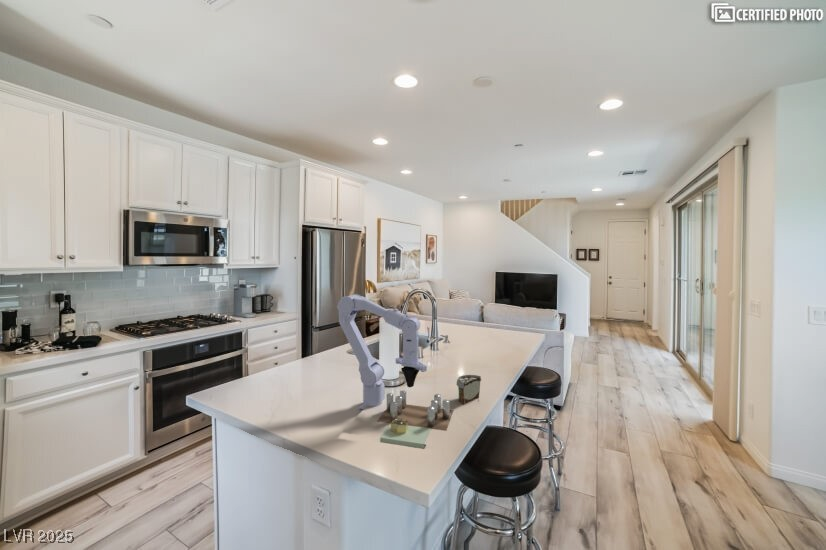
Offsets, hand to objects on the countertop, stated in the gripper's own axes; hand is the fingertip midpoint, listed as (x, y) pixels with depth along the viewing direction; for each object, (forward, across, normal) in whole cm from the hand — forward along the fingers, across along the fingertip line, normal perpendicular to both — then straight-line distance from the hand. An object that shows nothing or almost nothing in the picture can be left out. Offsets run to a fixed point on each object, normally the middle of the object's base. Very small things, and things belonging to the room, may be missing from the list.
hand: (410, 386), depth 131 cm
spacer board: (+9, +6, -3) cm, 12 cm away
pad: (+9, +13, -14) cm, 22 cm away
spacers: (+8, +6, -3) cm, 11 cm away
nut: (+8, +10, -15) cm, 19 cm away
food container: (+10, +9, +22) cm, 25 cm away
